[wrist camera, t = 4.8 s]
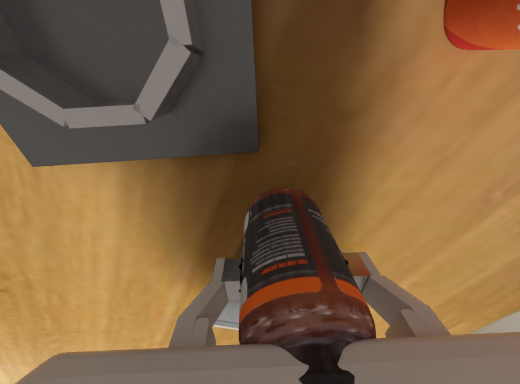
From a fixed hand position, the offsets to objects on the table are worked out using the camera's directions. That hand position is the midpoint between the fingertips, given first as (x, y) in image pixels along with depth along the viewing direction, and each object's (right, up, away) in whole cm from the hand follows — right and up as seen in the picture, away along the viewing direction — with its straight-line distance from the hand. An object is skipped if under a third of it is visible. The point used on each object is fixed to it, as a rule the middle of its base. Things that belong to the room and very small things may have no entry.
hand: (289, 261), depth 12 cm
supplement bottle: (0, +2, +4) cm, 5 cm away
